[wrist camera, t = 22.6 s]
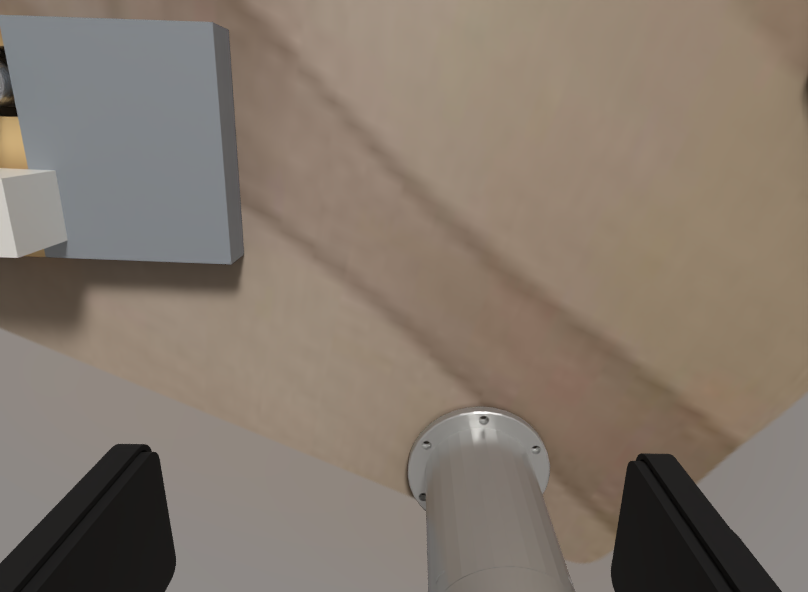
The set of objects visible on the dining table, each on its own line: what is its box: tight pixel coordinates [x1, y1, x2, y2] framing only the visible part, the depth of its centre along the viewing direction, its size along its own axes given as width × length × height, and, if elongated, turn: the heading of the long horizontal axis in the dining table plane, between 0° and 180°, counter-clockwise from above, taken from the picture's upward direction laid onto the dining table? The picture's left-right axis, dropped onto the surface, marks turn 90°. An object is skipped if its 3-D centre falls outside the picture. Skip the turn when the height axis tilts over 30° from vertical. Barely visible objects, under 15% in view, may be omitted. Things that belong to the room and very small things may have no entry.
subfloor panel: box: [0, 15, 244, 264], centre depth 37 cm, size 16×22×3 cm
